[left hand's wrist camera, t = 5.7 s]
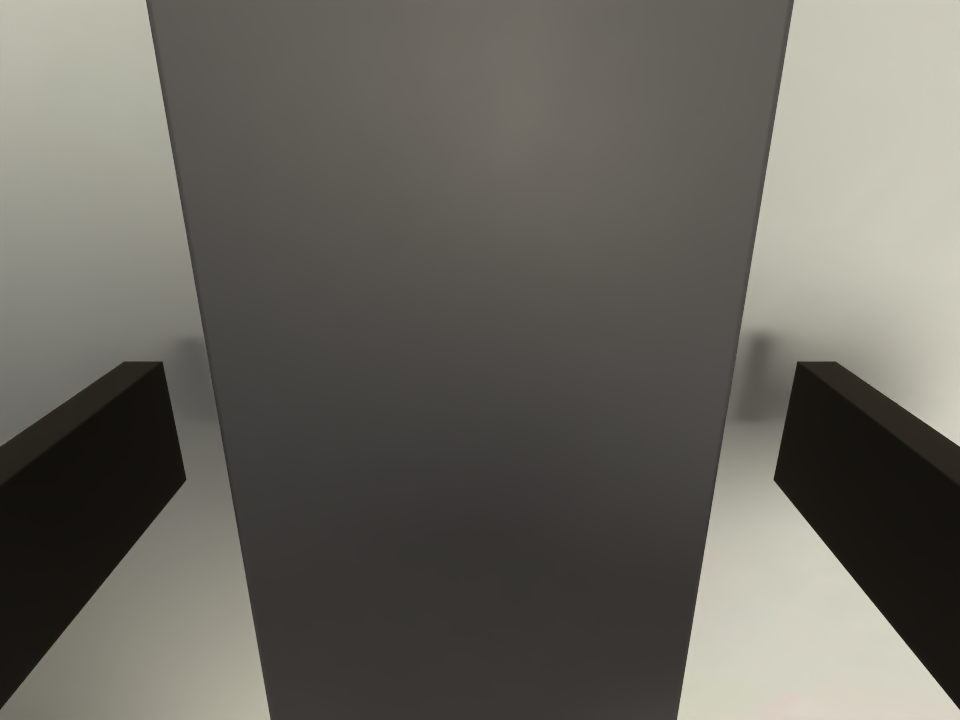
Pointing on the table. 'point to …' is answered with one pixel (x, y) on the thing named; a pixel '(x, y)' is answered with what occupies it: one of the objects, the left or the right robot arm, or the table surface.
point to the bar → (471, 332)
